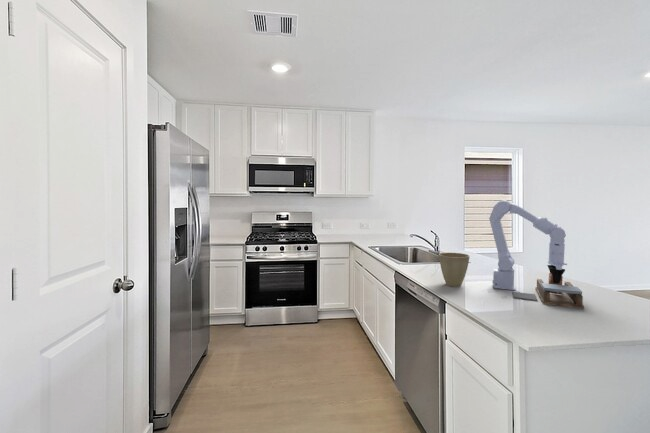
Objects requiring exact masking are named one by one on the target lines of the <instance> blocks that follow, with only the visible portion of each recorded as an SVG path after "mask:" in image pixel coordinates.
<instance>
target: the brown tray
mask: <svg viewBox="0 0 650 433" xmlns="http://www.w3.org/2000/svg"><path fill="white" fill-rule="evenodd" d="M541 283H545V282H544V280H543V279H541V278H540V279H539V278H536V286H535V292H536V293H537V295H538V297H539V299H540V302H541V303H542V304H544V305H551V306H560V307H568V308H574V309H575V308H576V309H585V306H584V305H583V299H584V296H583V294H582V295H581V294H572V293H563V292H554V291H544V290H543V288H542V286H541ZM563 285H566V286H574V284H572V283H571V281H564V284H563Z"/></svg>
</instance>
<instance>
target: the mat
mask: <svg viewBox="0 0 650 433" xmlns="http://www.w3.org/2000/svg"><path fill="white" fill-rule="evenodd" d="M511 293H512V298H513V299H514V300H515V299H517V300H525V301H533V302H534V301H535V302H538V298H537V296H536V294H535V293H528V292H518V291H512V292H511Z"/></svg>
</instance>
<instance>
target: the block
mask: <svg viewBox="0 0 650 433" xmlns="http://www.w3.org/2000/svg"><path fill="white" fill-rule="evenodd" d="M563 278H564V277H563V275H562V277H561V280H560V283H559V284H558V283H554V282H553V277H552V273H550V272H549V273H548V284H556V285H563Z"/></svg>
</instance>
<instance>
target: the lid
mask: <svg viewBox="0 0 650 433" xmlns="http://www.w3.org/2000/svg"><path fill="white" fill-rule="evenodd" d="M541 286H542V288H543V290H544V291H554V292H563V293H572V294H581V295H582V296H583V291H582V290H581V289H580V288H579V287H578V286H574V285H573V286H566V285H564V284H562V285H556V284H549V283H546V282H544V283H541Z"/></svg>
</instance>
